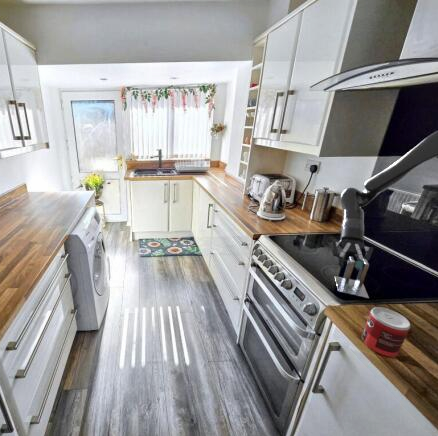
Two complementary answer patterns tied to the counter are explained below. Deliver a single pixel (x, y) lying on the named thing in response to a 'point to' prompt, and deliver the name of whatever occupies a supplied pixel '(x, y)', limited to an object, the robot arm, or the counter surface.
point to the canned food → (385, 331)
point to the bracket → (353, 285)
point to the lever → (356, 265)
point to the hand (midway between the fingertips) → (349, 268)
